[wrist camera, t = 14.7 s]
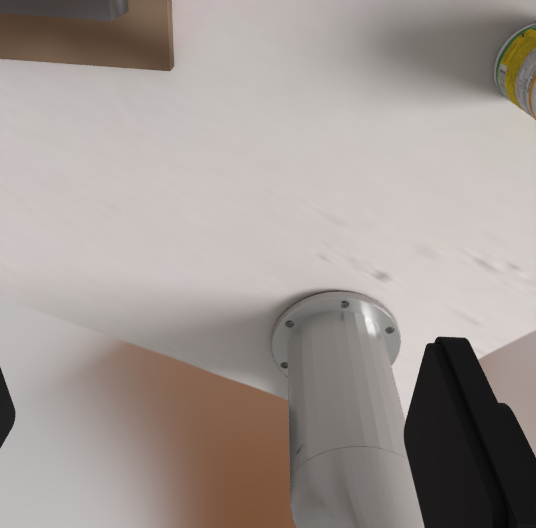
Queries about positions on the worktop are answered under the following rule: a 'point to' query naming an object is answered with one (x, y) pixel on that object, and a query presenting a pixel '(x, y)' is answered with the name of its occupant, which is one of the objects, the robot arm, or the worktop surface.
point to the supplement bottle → (518, 69)
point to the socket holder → (89, 32)
